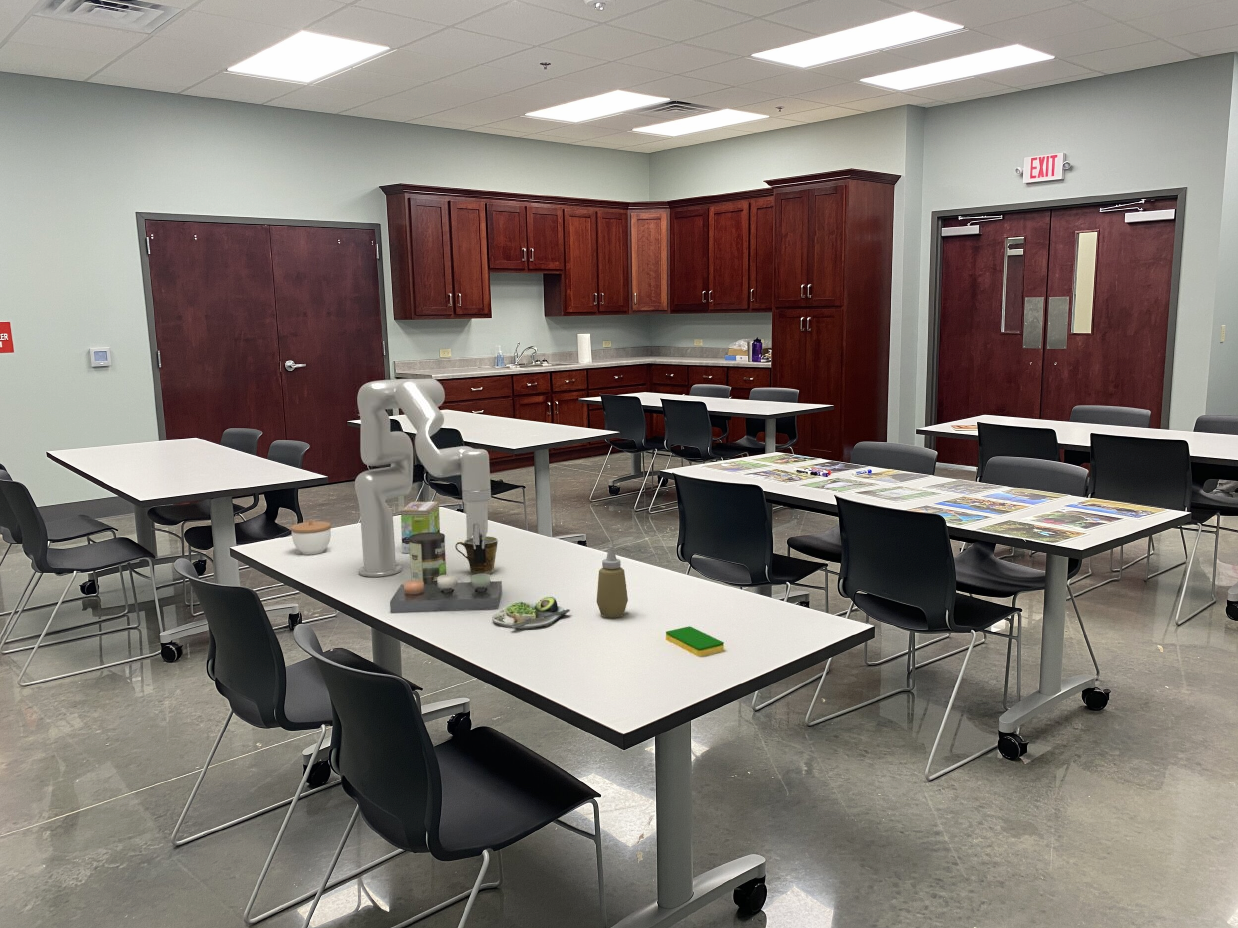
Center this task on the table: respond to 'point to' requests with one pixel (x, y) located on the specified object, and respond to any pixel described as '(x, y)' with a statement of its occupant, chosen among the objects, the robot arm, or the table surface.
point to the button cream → (447, 582)
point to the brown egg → (414, 587)
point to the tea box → (418, 521)
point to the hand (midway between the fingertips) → (480, 562)
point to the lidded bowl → (311, 536)
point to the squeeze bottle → (611, 587)
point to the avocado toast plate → (530, 614)
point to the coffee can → (427, 556)
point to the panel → (447, 598)
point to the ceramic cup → (490, 555)
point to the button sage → (480, 581)
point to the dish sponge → (694, 641)
